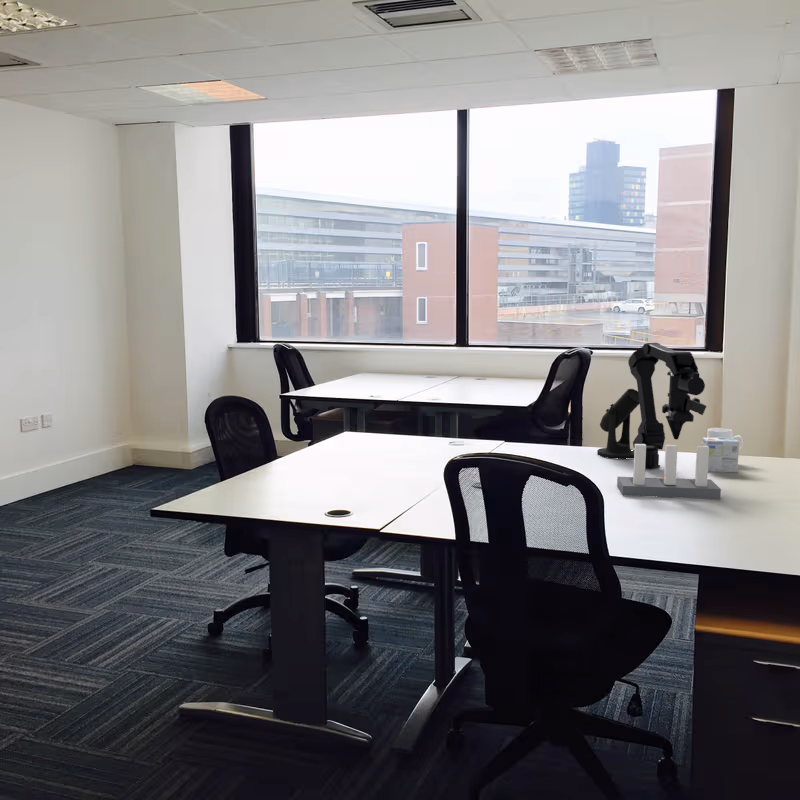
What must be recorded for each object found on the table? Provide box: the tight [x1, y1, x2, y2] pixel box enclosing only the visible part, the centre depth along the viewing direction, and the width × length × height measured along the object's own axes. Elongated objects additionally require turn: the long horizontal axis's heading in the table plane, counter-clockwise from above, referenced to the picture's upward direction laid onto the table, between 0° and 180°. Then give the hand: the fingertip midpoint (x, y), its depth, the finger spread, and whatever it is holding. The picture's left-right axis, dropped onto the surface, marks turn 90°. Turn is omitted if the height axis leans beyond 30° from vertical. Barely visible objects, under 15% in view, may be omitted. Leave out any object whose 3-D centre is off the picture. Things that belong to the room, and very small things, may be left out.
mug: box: [706, 427, 744, 451], centre depth 295 cm, size 12×8×11 cm
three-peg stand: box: [616, 444, 722, 500], centre depth 252 cm, size 12×28×15 cm, turn 83°
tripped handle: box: [663, 444, 678, 485], centre depth 249 cm, size 2×3×12 cm, turn 83°
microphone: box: [597, 388, 640, 460], centre depth 305 cm, size 15×17×25 cm
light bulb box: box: [701, 437, 740, 473], centre depth 283 cm, size 11×7×11 cm, turn 84°
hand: (676, 439), depth 269 cm, fingers closed
